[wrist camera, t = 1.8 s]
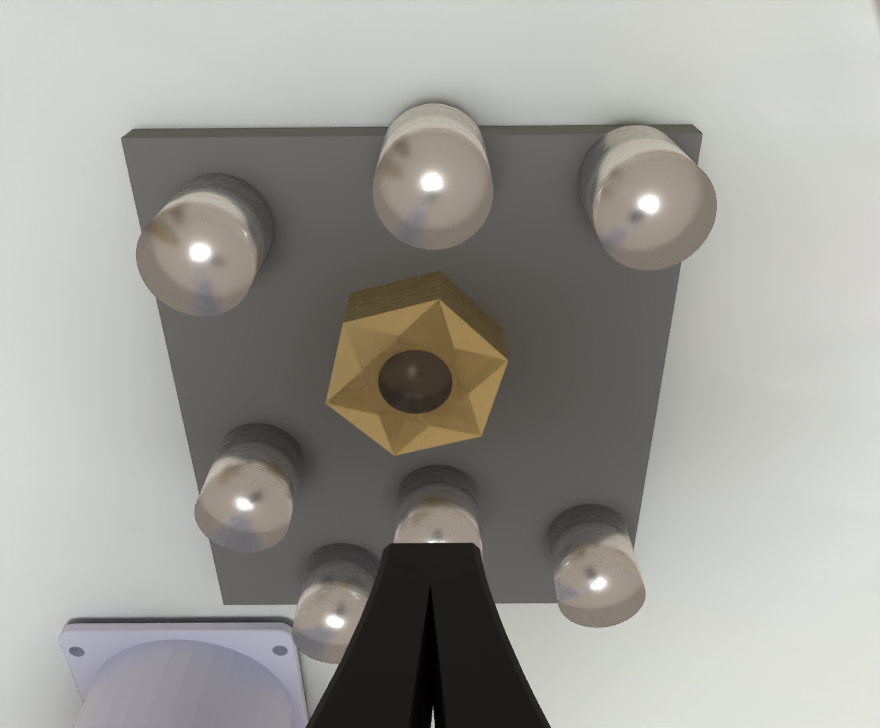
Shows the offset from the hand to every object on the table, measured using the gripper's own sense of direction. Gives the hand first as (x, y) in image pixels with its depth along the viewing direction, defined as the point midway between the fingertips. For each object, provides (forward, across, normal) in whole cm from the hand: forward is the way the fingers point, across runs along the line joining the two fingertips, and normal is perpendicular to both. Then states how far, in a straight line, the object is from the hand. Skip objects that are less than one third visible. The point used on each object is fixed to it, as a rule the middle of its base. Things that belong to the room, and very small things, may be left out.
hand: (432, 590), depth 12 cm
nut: (+9, 0, +1) cm, 9 cm away
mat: (+10, 0, +3) cm, 10 cm away
